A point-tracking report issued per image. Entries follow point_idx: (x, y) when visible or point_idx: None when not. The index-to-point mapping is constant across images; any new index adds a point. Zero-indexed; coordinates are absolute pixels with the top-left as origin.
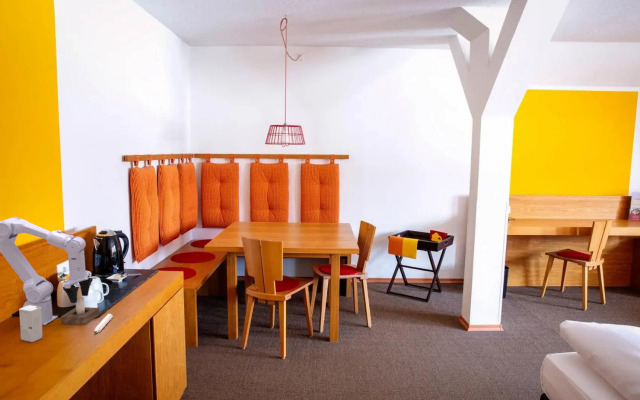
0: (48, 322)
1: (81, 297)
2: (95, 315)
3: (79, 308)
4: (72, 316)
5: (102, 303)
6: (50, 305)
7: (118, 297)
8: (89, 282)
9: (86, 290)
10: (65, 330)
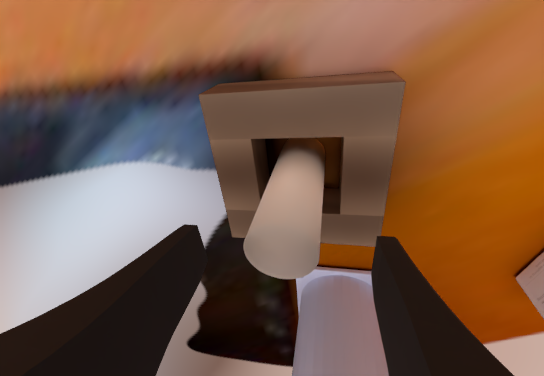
0: (365, 272)
1: (255, 248)
2: (263, 82)
3: (320, 191)
4: (376, 189)
5: (101, 164)
6: (333, 346)
7: (7, 128)
8: (38, 362)
9: (163, 272)
10: (482, 150)
